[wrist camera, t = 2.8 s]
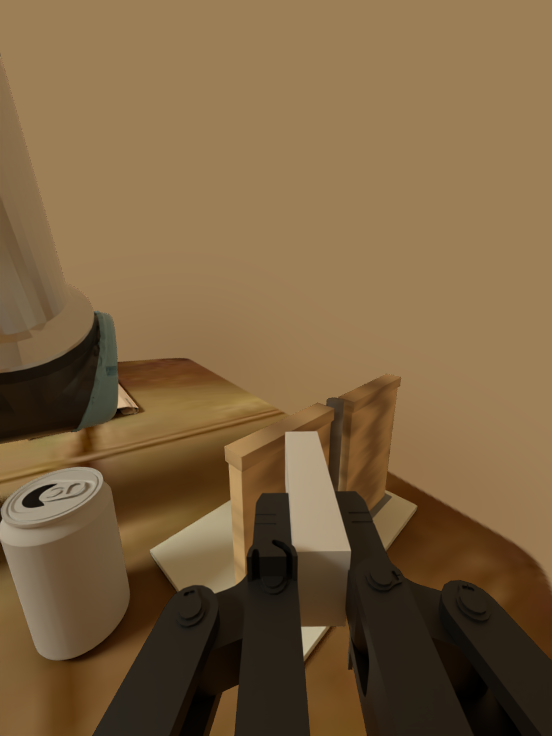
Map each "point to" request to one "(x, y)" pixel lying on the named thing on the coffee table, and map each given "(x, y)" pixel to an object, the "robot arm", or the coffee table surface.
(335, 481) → the fence panel
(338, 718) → the coffee table surface
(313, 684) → the coffee table surface
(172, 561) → the mat
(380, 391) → the panel
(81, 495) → the beverage can
